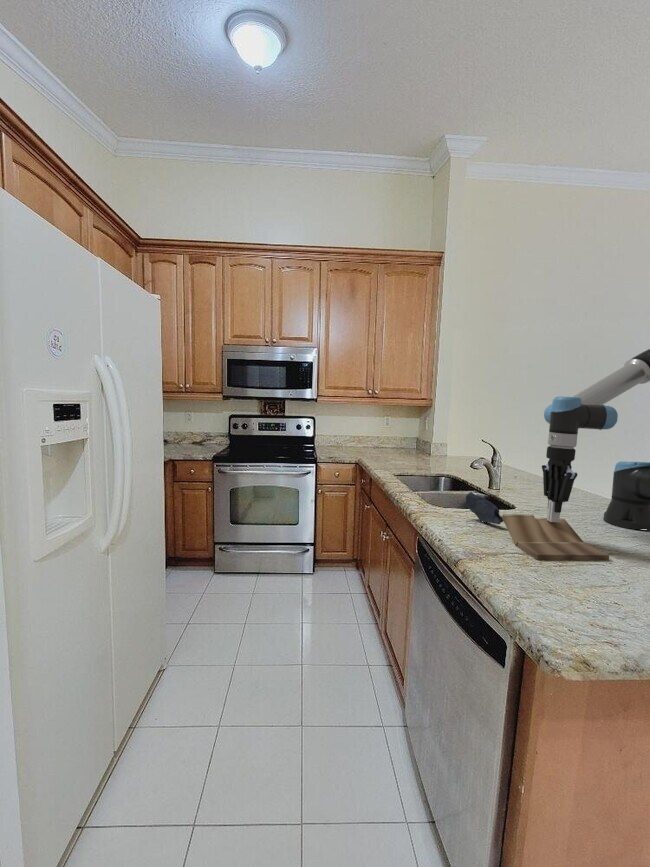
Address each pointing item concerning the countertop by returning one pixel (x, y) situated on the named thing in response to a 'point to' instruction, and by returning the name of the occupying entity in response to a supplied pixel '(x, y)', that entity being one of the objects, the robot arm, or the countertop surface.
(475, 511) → the stone
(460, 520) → the countertop surface
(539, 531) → the plank
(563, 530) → the plank
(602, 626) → the countertop surface
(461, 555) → the countertop surface
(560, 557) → the floor board
